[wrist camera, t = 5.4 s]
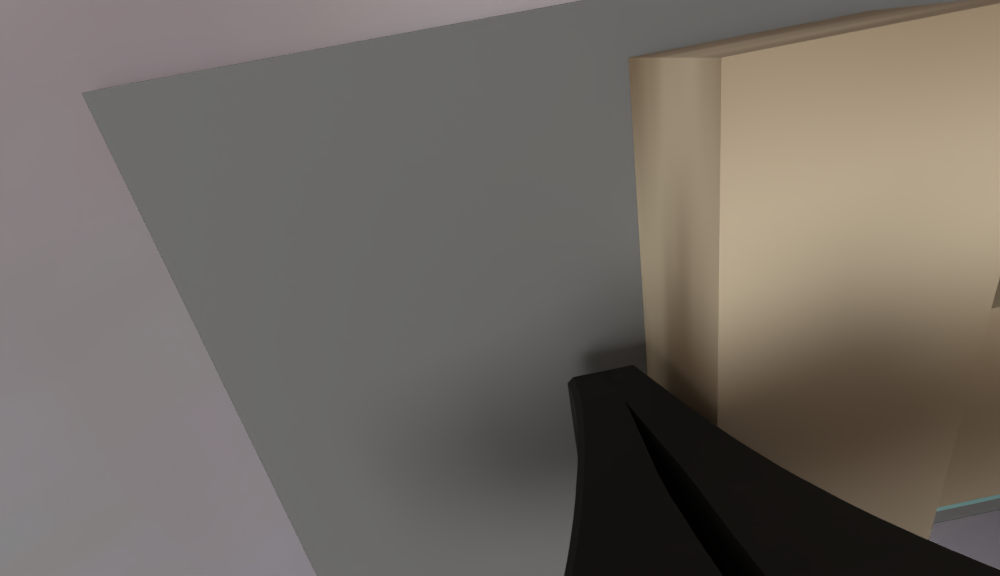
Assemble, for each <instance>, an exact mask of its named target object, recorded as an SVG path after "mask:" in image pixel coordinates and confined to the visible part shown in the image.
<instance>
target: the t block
mask: <svg viewBox="0 0 1000 576" xmlns="http://www.w3.org/2000/svg"><path fill="white" fill-rule="evenodd" d="M628 59H629V76H630V92H631V109H632V126H633V142H634V159H635V175H636V192H637V208H638V225H639V242H640V258H641V275H642V291H643V308H644V324H645V341H646V358H647V374H648V376H649V377H650V378H651V379H653V380H654V381H655V382H657V383H658V384H659V385H661V386H662V387H663V388H665V389H666V390H667V391H669V392H670V393H671V394H673V395H674V396H675V397H677V398H678V399H679V400H681V401H682V402H683V403H685V404H686V405H687V406H689V407H690V408H692V409H693V410H694V411H696V412H697V413H699V414H700V415H701V416H703V417H704V418H706V419H707V420H709V421H710V422H712V423H713V424H715V425H716V426H717V427H719V428H720V429H722V430H723V431H725V432H726V433H728V434H729V435H731V436H732V437H734V438H735V439H737V440H738V441H740V442H741V443H743V444H744V445H746V446H748V447H749V448H751V449H753V450H754V451H756V452H757V453H759V454H761V455H762V456H764V457H766V458H767V459H769V460H771V461H772V462H774V463H775V464H777V465H779V466H781V467H782V468H784V469H786V470H788V471H789V472H791V473H793V474H795V475H796V476H798V477H800V478H802V479H804V480H806V481H808V482H810V483H811V484H813V485H815V486H817V487H819V488H821V489H823V490H825V491H827V492H829V493H830V494H832V495H834V496H836V497H838V498H840V499H842V500H844V501H846V502H848V503H850V504H852V505H854V506H856V507H858V508H860V509H862V510H864V511H866V512H868V513H870V514H872V515H874V516H876V517H878V518H881V519H883V520H885V521H887V522H889V523H892V524H894V525H896V526H898V527H900V528H903V529H905V530H907V531H909V532H911V533H914V534H916V535H918V536H920V537H922V538H925V539H927V540H929V537H930V533H931V529H932V526H933V522H934V518H935V515H936V511H937V508H939V507H943V506H948V505H953V504H957V503H962V502H966V501H971V500H976V499H980V498H985V497H989V496H994V495H999V494H1000V0H964V1H955V2H946V3H936V4H927V5H918V6H909V7H900V8H891V9H882V10H873V11H866V12H861V13H856V14H850V15H845V16H840V17H835V18H830V19H825V20H820V21H814V22H809V23H804V24H799V25H794V26H789V27H784V28H779V29H773V30H768V31H763V32H758V33H753V34H748V35H743V36H737V37H732V38H727V39H722V40H717V41H712V42H707V43H702V44H696V45H691V46H686V47H681V48H676V49H671V50H666V51H660V52H655V53H650V54H645V55H640V56H635V57H630V58H628Z"/></svg>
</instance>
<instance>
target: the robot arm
mask: <svg viewBox="0 0 1000 576" xmlns="http://www.w3.org/2000/svg"><path fill="white" fill-rule="evenodd" d="M567 384H568V391H569V398H570V405H571V412H572V420H573V427H574V434H575V441H576V448H577V455H578V465H577V480H576V495H575V507H574V515H573V524H572V531H571V538H570V545H569V551H568V557H567V563H566V568H565V573H564V576H1000V570H998V569H996V568H993V567H991V566H988V565H986V564H983V563H981V562H979V561H976V560H974V559H971V558H969V557H967V556H964V555H962V554H959V553H957V552H955V551H952V550H950V549H947V548H945V547H943V546H940V545H938V544H936V543H933V542H931V541H929V540H927V539H925V538H922V537H920V536H918V535H916V534H914V533H911V532H909V531H907V530H905V529H903V528H900V527H898V526H896V525H894V524H892V523H889V522H887V521H885V520H883V519H881V518H878V517H876V516H874V515H872V514H870V513H868V512H866V511H864V510H862V509H860V508H858V507H856V506H854V505H852V504H850V503H848V502H846V501H844V500H842V499H840V498H838V497H836V496H834V495H832V494H830V493H829V492H827V491H825V490H823V489H821V488H819V487H817V486H815V485H813V484H811V483H810V482H808V481H806V480H804V479H802V478H800V477H798V476H796V475H795V474H793V473H791V472H789V471H788V470H786V469H784V468H782V467H781V466H779V465H777V464H775V463H774V462H772V461H771V460H769V459H767V458H766V457H764V456H762V455H761V454H759V453H757V452H756V451H754V450H753V449H751V448H749V447H748V446H746V445H744V444H743V443H741V442H740V441H738V440H737V439H735V438H734V437H732V436H731V435H729V434H728V433H726V432H725V431H723V430H722V429H720V428H719V427H717V426H716V425H715V424H713V423H712V422H710V421H709V420H707V419H706V418H704V417H703V416H701V415H700V414H699V413H697V412H696V411H694V410H693V409H692V408H690V407H689V406H687V405H686V404H685V403H683V402H682V401H681V400H679V399H678V398H677V397H675V396H674V395H673V394H671V393H670V392H669V391H667V390H666V389H665V388H663V387H662V386H661V385H659V384H658V383H657V382H655V381H654V380H653V379H651V378H650V377H649V376H647V375H646V374H645V373H644V372H642V371H641V370H640V369H638V368H637V367H635V366H634V365H630V366H625V367H620V368H615V369H610V370H606V371H601V372H596V373H591V374H586V375H581V376H576V377H573V378H572V379H571V380H570V381H569V382H568V383H567Z"/></svg>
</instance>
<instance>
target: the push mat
mask: <svg viewBox="0 0 1000 576" xmlns="http://www.w3.org/2000/svg"><path fill="white" fill-rule="evenodd" d="M955 1H964V0H582V1H576V2H571V3H565V4H560V5H555V6H549V7H544V8H538V9H533V10H527V11H522V12H517V13H511V14H506V15H500V16H495V17H489V18H484V19H479V20H473V21H468V22H462V23H457V24H451V25H446V26H441V27H435V28H430V29H424V30H419V31H413V32H408V33H403V34H397V35H392V36H386V37H381V38H376V39H370V40H365V41H359V42H354V43H348V44H343V45H338V46H332V47H327V48H321V49H316V50H310V51H305V52H300V53H294V54H289V55H283V56H278V57H272V58H267V59H262V60H256V61H251V62H245V63H240V64H234V65H229V66H224V67H218V68H213V69H207V70H202V71H196V72H191V73H186V74H180V75H175V76H169V77H164V78H158V79H153V80H148V81H142V82H137V83H131V84H126V85H120V86H115V87H110V88H104V89H99V90H93V91H88V92H82V95H83V97H84V99H85V101H86V103H87V105H88V107H89V109H90V111H91V113H92V115H93V117H94V119H95V122H96V124H97V126H98V128H99V130H100V132H101V134H102V136H103V138H104V140H105V142H106V144H107V146H108V148H109V150H110V152H111V154H112V156H113V158H114V161H115V163H116V165H117V167H118V169H119V171H120V173H121V175H122V177H123V179H124V181H125V183H126V185H127V187H128V189H129V191H130V193H131V195H132V197H133V200H134V202H135V204H136V206H137V208H138V210H139V212H140V214H141V216H142V218H143V220H144V222H145V224H146V226H147V228H148V230H149V232H150V234H151V236H152V239H153V241H154V243H155V245H156V247H157V249H158V251H159V253H160V255H161V257H162V259H163V261H164V263H165V265H166V267H167V269H168V271H169V273H170V275H171V278H172V280H173V282H174V284H175V286H176V288H177V290H178V292H179V294H180V296H181V298H182V300H183V302H184V304H185V306H186V308H187V310H188V312H189V314H190V317H191V319H192V321H193V323H194V325H195V327H196V329H197V331H198V333H199V335H200V337H201V339H202V341H203V343H204V345H205V347H206V349H207V351H208V353H209V356H210V358H211V360H212V362H213V364H214V366H215V368H216V370H217V372H218V374H219V376H220V378H221V380H222V382H223V384H224V386H225V388H226V390H227V392H228V395H229V397H230V399H231V401H232V403H233V405H234V407H235V409H236V411H237V413H238V415H239V417H240V419H241V421H242V423H243V425H244V427H245V429H246V431H247V434H248V436H249V438H250V440H251V442H252V444H253V446H254V448H255V450H256V452H257V454H258V456H259V458H260V460H261V462H262V464H263V466H264V468H265V470H266V473H267V475H268V477H269V479H270V481H271V483H272V485H273V487H274V489H275V491H276V493H277V495H278V497H279V499H280V501H281V503H282V505H283V507H284V509H285V512H286V514H287V516H288V518H289V520H290V522H291V524H292V526H293V528H294V530H295V532H296V534H297V536H298V538H299V540H300V542H301V544H302V546H303V548H304V551H305V553H306V555H307V557H308V559H309V561H310V563H311V565H312V567H313V569H314V571H315V573H316V575H317V576H564V573H565V568H566V563H567V557H568V551H569V545H570V538H571V531H572V524H573V515H574V507H575V495H576V480H577V465H578V455H577V448H576V441H575V434H574V427H573V420H572V412H571V405H570V398H569V391H568V384H567V383H568V382H569V381H570V380H571V379H572V378H573V377H576V376H581V375H586V374H591V373H596V372H601V371H606V370H610V369H615V368H620V367H625V366H630V365H634V366H635V367H637V368H638V369H640V370H641V371H642V372H644V373H645V374H646V375H647V376H648V374H647V358H646V341H645V324H644V308H643V291H642V275H641V258H640V242H639V225H638V208H637V192H636V175H635V159H634V142H633V126H632V109H631V92H630V76H629V59H628V58H630V57H635V56H640V55H645V54H650V53H655V52H660V51H666V50H671V49H676V48H681V47H686V46H691V45H696V44H702V43H707V42H712V41H717V40H722V39H727V38H732V37H737V36H743V35H748V34H753V33H758V32H763V31H768V30H773V29H779V28H784V27H789V26H794V25H799V24H804V23H809V22H814V21H820V20H825V19H830V18H835V17H840V16H845V15H850V14H856V13H861V12H866V11H873V10H882V9H891V8H900V7H909V6H918V5H927V4H936V3H946V2H955ZM995 510H1000V494H999V495H994V496H989V497H985V498H980V499H976V500H971V501H966V502H962V503H957V504H953V505H948V506H943V507H939V508H937V511H936V515H935V518H934V522H933V524H935V523H939V522H944V521H949V520H953V519H958V518H963V517H967V516H972V515H977V514H981V513H986V512H991V511H995Z"/></svg>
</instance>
